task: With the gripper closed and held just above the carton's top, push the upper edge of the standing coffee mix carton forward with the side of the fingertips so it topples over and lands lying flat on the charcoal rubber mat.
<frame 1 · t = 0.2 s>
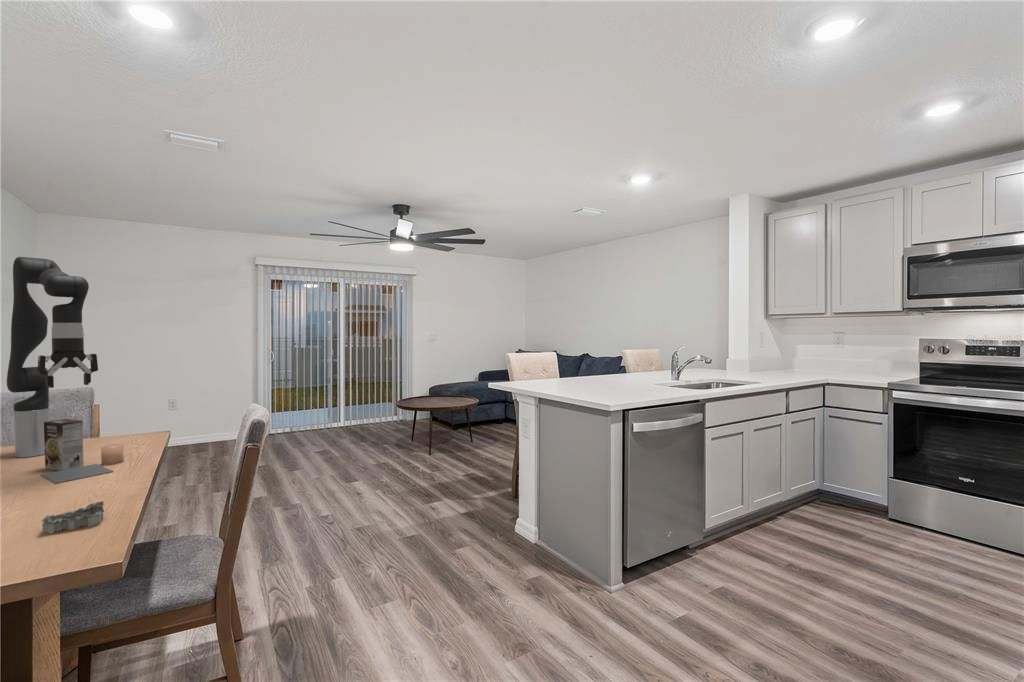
hand: (69, 386, 152), 29 cm above the table, fingers open, 8 cm apart
egg carton: (74, 526, 111), on the table
coffee box: (64, 468, 159), on the table
beige short cylinder: (112, 462, 164), on the table
mat: (77, 473, 152), on the table
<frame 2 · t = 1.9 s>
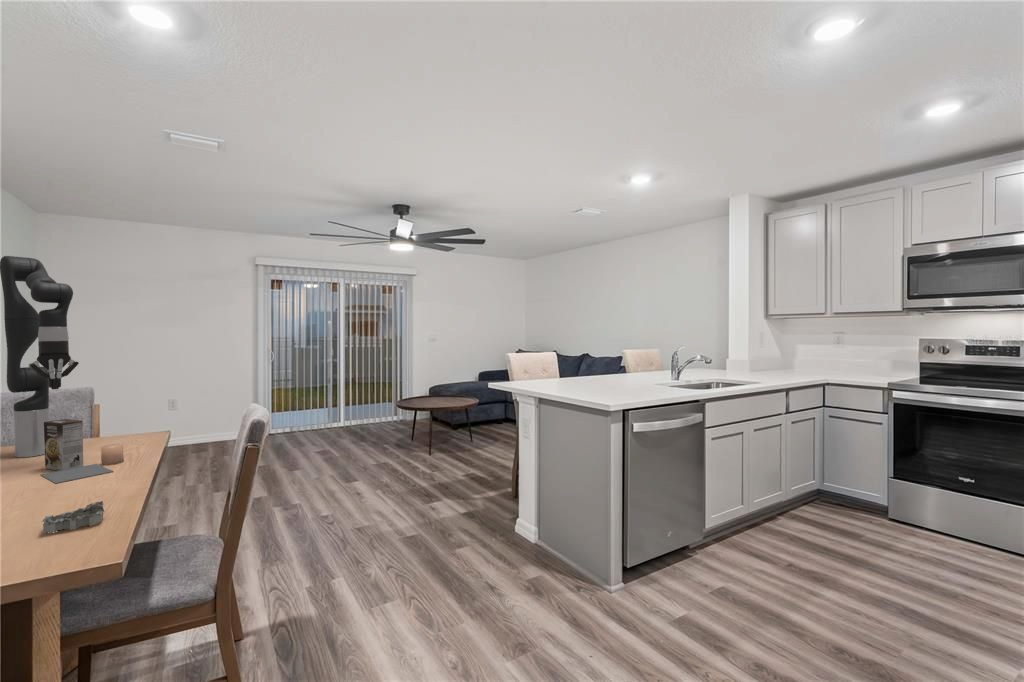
hand: (55, 389, 162), 26 cm above the table, fingers closed
nothing on the table moved.
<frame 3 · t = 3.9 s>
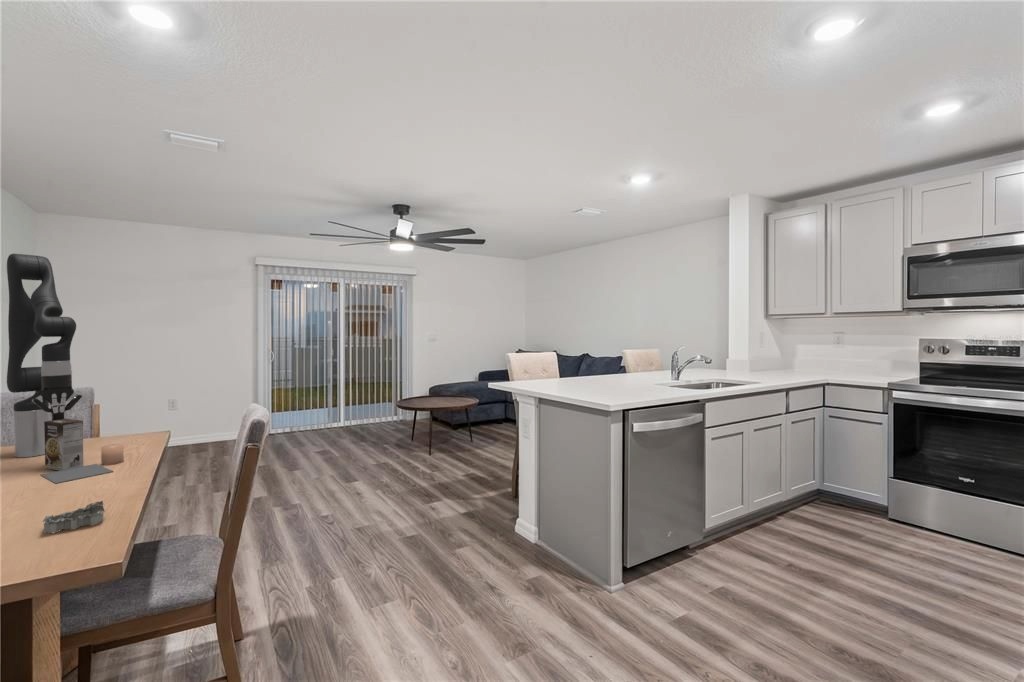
hand: (58, 423, 161), 15 cm above the table, fingers closed
nothing on the table moved.
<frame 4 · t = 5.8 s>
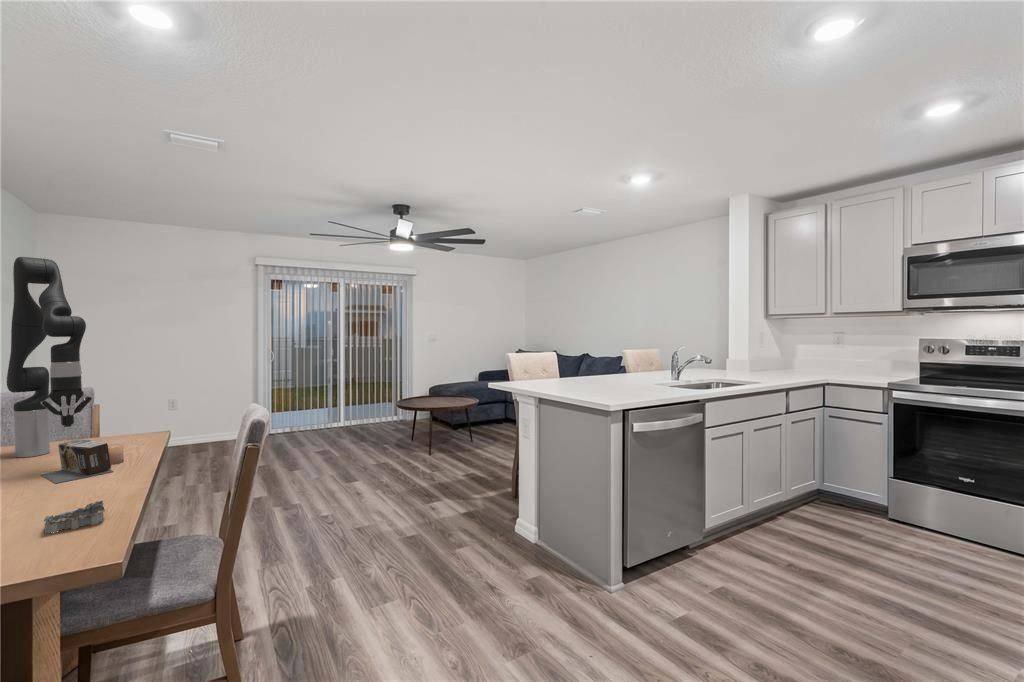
hand: (67, 426, 156), 15 cm above the table, fingers closed
coffee box: (70, 454, 157), point 5 cm above the table, touching mat
everything else where it was.
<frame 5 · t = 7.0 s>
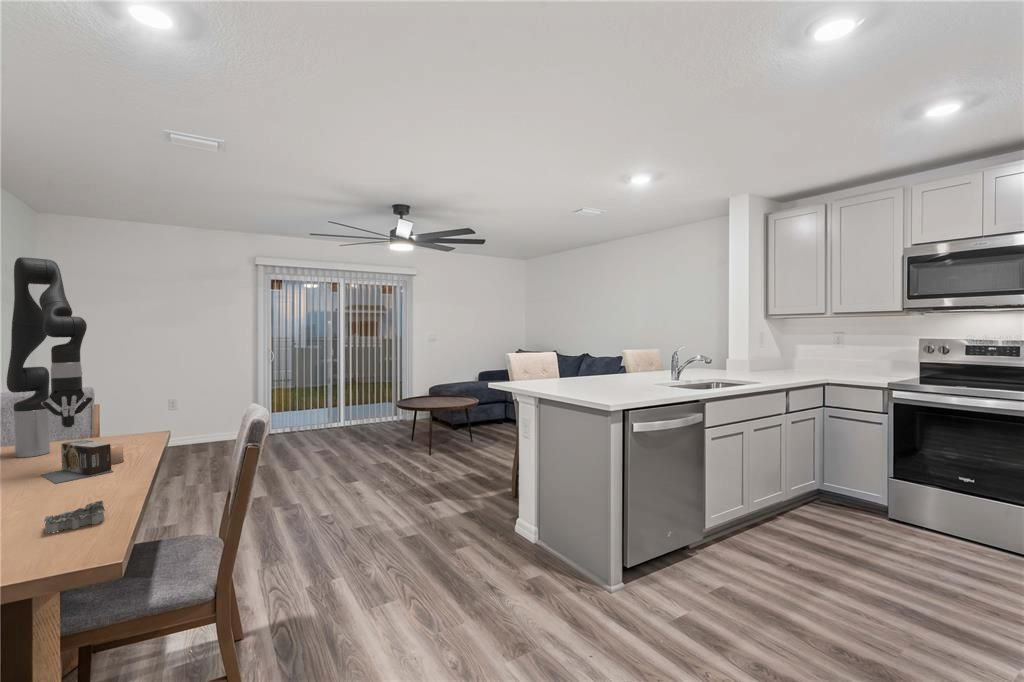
hand: (68, 427, 156), 14 cm above the table, fingers closed
nothing on the table moved.
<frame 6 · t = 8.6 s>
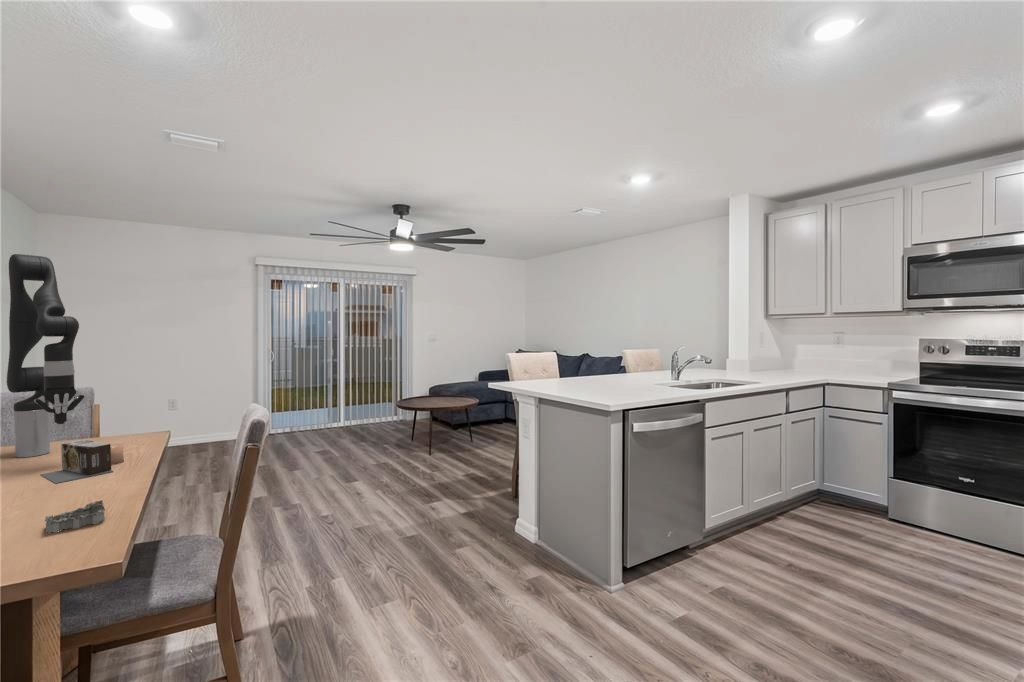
hand: (60, 423, 160), 15 cm above the table, fingers closed
nothing on the table moved.
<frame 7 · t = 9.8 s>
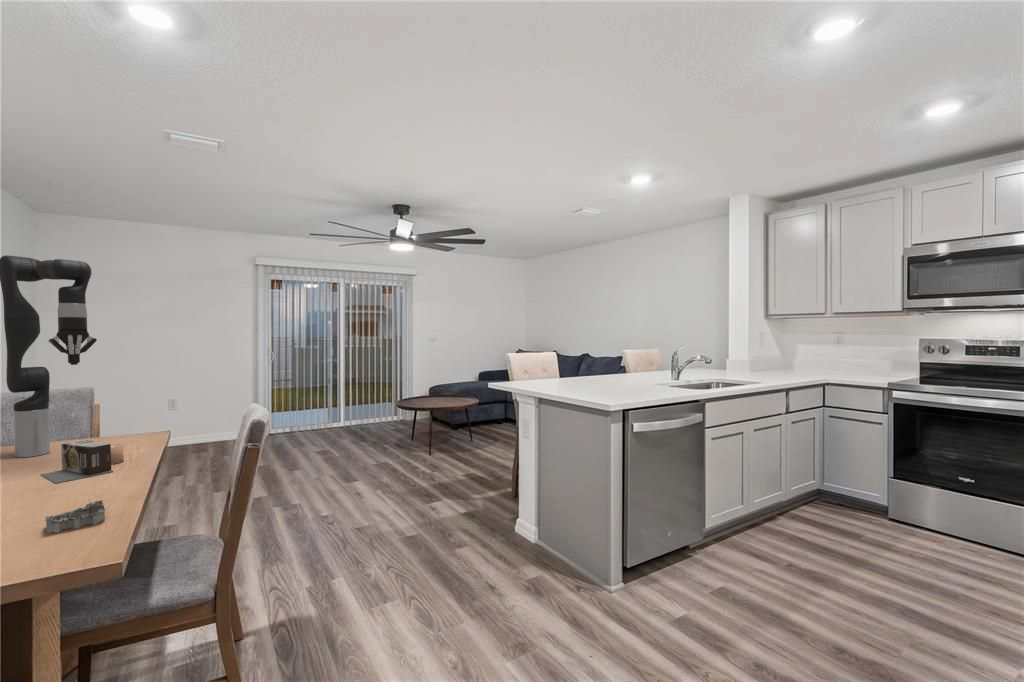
hand: (73, 364, 166), 35 cm above the table, fingers closed
nothing on the table moved.
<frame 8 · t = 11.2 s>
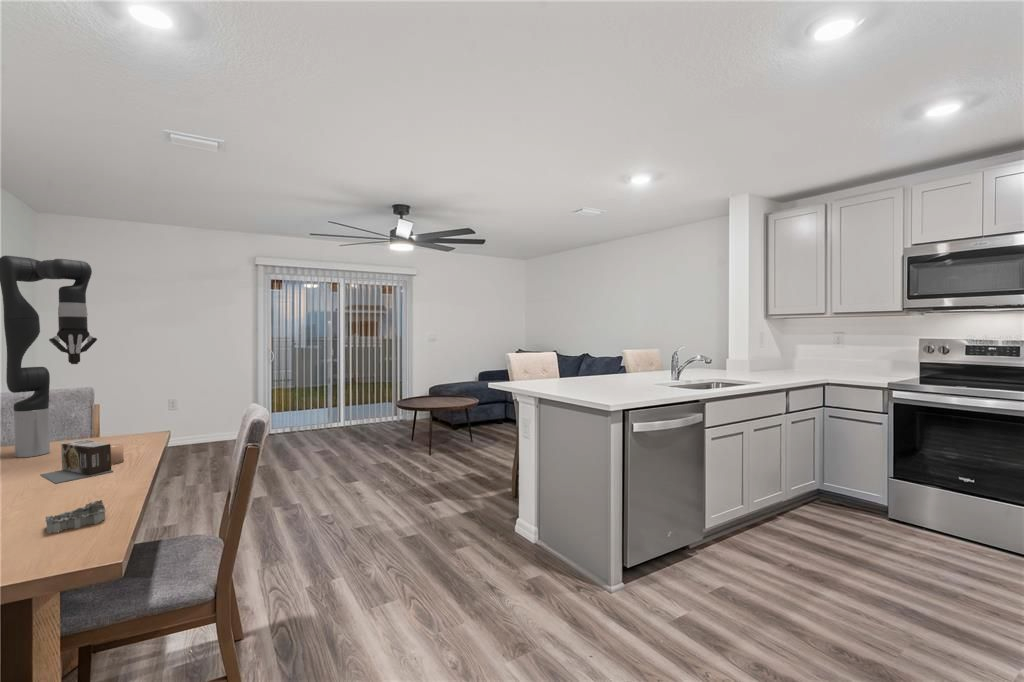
hand: (74, 364, 166), 35 cm above the table, fingers closed
nothing on the table moved.
at the end: coffee box tilted 89°; coffee box inside the target area (9.4 cm from its centre), point 4.7 cm above the table; beige short cylinder touching table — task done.
